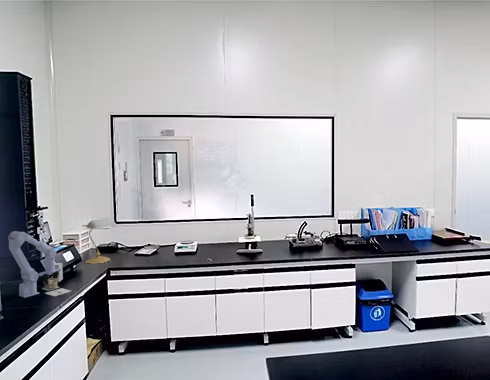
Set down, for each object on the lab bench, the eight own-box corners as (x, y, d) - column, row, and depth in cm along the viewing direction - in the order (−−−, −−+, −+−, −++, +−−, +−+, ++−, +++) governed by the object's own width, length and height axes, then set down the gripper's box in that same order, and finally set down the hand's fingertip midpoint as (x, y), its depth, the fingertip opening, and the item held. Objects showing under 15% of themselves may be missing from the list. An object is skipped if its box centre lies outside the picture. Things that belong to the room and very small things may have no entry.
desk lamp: (94, 266, 300) (93, 221, 299) (75, 263, 308) (74, 220, 307) (119, 258, 328) (118, 217, 327) (101, 256, 337) (100, 216, 336)
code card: (54, 296, 222) (54, 296, 222) (44, 293, 228) (44, 293, 228) (71, 291, 232) (71, 291, 232) (61, 288, 238) (61, 288, 238)
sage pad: (48, 290, 233) (48, 290, 233) (41, 289, 237) (41, 288, 237) (59, 287, 240) (59, 287, 240) (53, 285, 244) (53, 285, 244)
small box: (62, 279, 260) (62, 262, 260) (59, 281, 254) (58, 264, 253) (51, 279, 259) (51, 263, 259) (47, 282, 253) (47, 265, 253)
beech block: (50, 288, 234) (50, 281, 234) (44, 286, 238) (44, 279, 238) (57, 286, 239) (57, 279, 238) (51, 284, 242) (51, 277, 242)
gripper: (42, 267, 230) (43, 287, 230) (63, 263, 242) (63, 281, 243) (37, 266, 233) (37, 285, 234) (57, 261, 246) (58, 280, 246)
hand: (50, 283), depth 238 cm, fingers closed on beech block, 5 cm apart
